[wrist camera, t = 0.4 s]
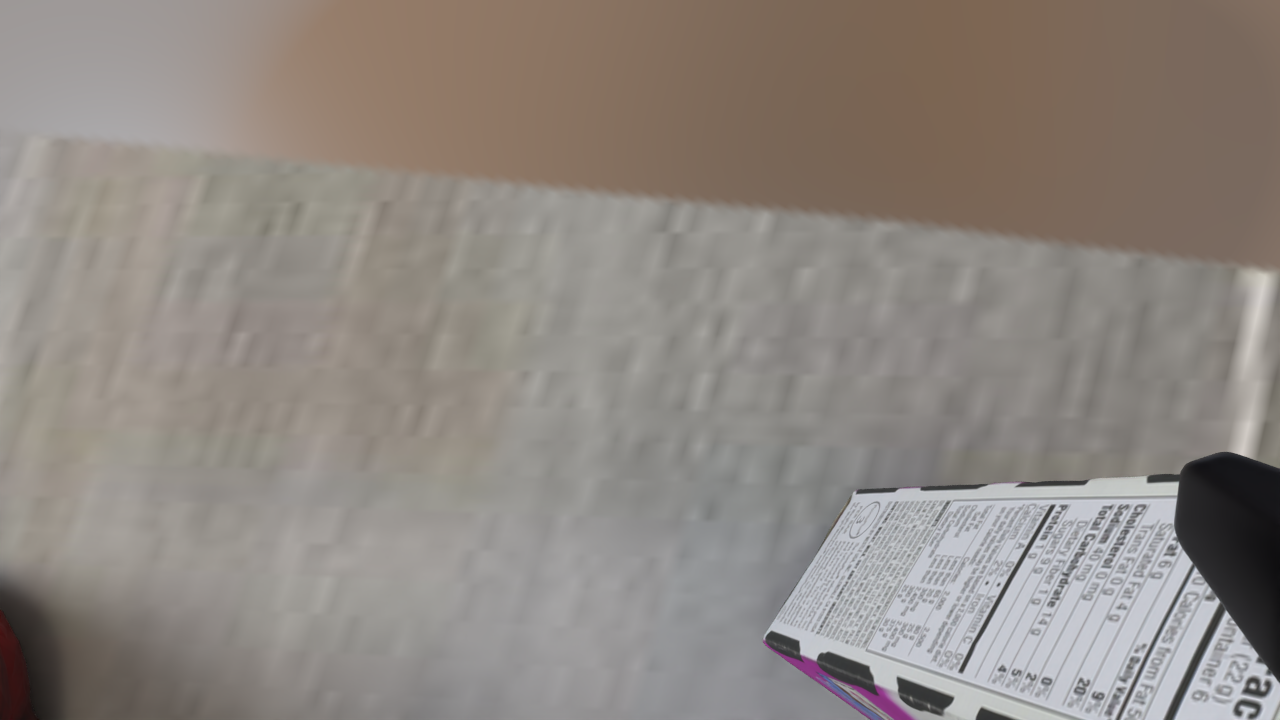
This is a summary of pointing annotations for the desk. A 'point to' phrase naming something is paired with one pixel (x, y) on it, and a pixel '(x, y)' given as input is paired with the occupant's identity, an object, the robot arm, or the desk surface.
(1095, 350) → the desk surface
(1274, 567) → the robot arm
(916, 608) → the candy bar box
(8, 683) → the red clay folk toy
